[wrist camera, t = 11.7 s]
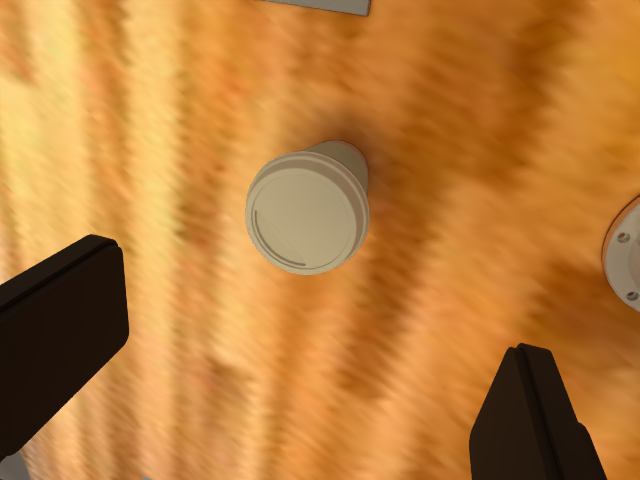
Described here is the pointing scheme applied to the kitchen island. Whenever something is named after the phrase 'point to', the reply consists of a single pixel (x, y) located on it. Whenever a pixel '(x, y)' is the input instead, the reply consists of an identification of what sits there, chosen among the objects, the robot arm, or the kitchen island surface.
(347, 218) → the coffee cup
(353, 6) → the pin plate
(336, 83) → the kitchen island surface
